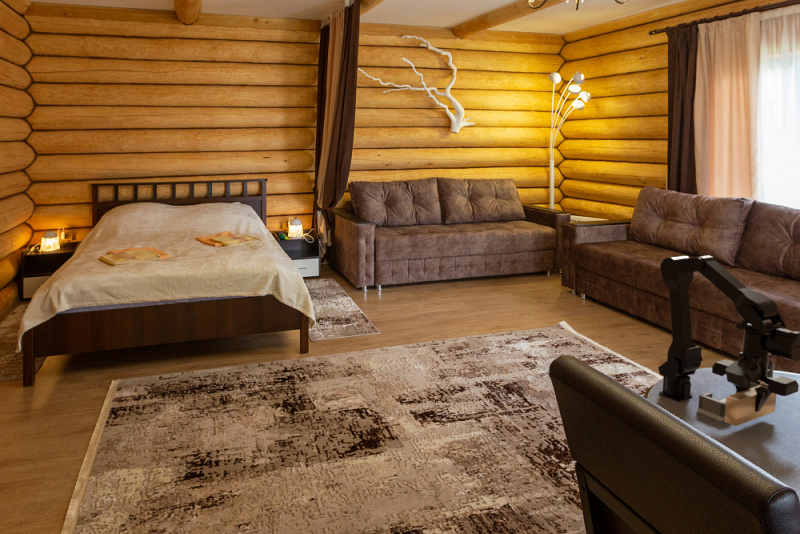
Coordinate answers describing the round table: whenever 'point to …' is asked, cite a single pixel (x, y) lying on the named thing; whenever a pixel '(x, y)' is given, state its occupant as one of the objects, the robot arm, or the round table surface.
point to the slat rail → (714, 405)
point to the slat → (746, 407)
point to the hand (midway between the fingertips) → (750, 409)
